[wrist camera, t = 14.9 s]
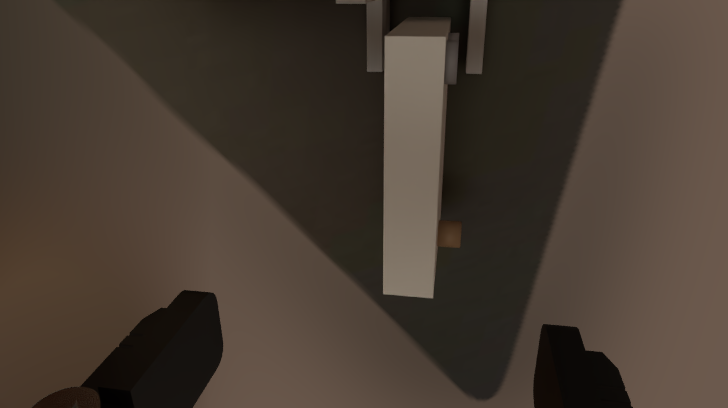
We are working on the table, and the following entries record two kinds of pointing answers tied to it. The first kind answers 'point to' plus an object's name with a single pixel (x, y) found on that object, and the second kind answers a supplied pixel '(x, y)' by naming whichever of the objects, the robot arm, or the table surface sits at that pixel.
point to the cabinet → (381, 27)
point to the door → (416, 152)
